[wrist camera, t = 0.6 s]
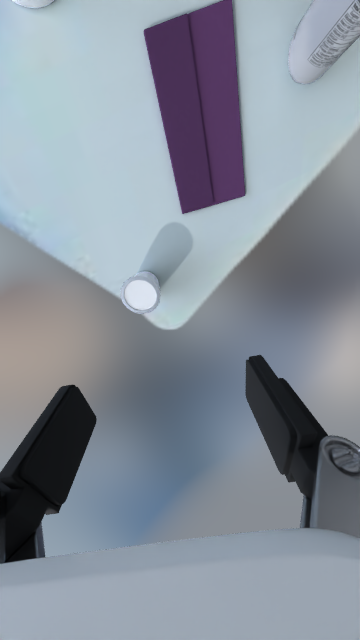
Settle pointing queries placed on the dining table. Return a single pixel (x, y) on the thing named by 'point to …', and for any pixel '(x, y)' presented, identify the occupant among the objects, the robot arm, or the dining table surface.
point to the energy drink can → (322, 38)
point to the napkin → (200, 103)
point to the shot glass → (141, 292)
